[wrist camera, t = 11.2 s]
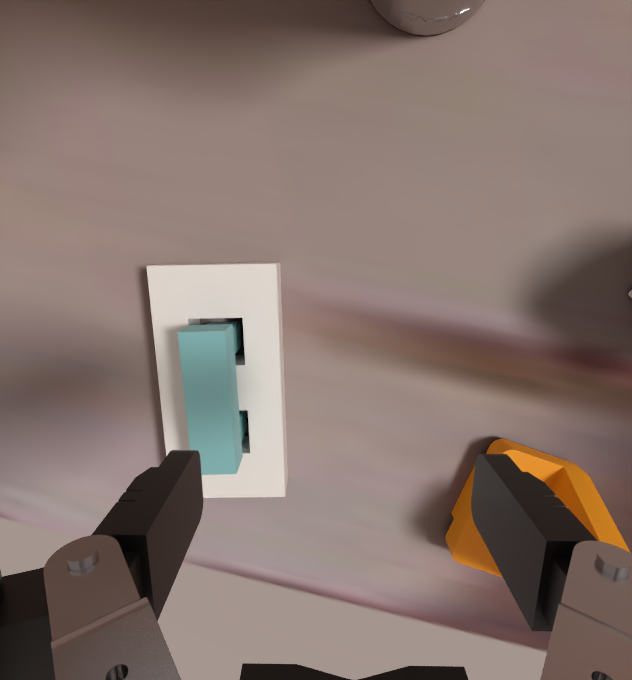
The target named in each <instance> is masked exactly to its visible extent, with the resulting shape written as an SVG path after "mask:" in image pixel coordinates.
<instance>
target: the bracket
mask: <svg viewBox="0 0 632 680" xmlns="http://www.w3.org/2000/svg"><path fill="white" fill-rule="evenodd" d="M486 454H507V455H508V456H509V457H510V458H511V459H512V460H513V461H514V463H515V464H516V465H517V466H518V467H519V468H520V470H521V471H522V472H529V473H530V474H532V475H533V476H535V477H537V478H538V479H540V480H541V481H543V482H545V483H546V484H547V486H548V487H549V488H550V489H551V490H552V491H553V492H554V493H555V494H556V497H557V498H559V499H560V500H561V501H562V502H563V503H564V504H565V505H566V508H568V509H569V510H570V511H571V512H572V513H573V514H574V515H575V516H576V517H577V518H578V520H579V521H580V522H581V523H582V524H583V525H584V526H585V527H586V528H587V529H588V531H589V532H590V533H591V534H592V535H593V536H594V537H595V538H596V539H597V540H598V541H600V542H605V543H609V544H612V545H615V546H617V547H620V548H622V549H624V550H626V551H628V552H630V551H629V549H628V547H627V546H626V544H625V542H624V540H623V538H622V536H621V534H620V533H619V531H618V529H617V527H616V525H615V523H614V521H613V520H612V518H611V516H610V514H609V512H608V510H607V508H606V506H605V505H604V503H603V501H602V499H601V497H600V495H599V493H598V492H597V490H596V488H595V486H594V484H593V482H592V480H591V479H590V477H589V475H588V474H586V473H585V472H584V471H583V470H582V469H581V468H579V467H578V466H577V465H576V464H575V463H572V462H569V461H566V460H563V459H560V458H557V457H555V456H552V455H549V454H546V453H543V452H540V451H537V450H535V449H532V448H529V447H526V446H523V445H520V444H517V443H515V442H512V441H509V440H506V439H498V440H496V441H494V442H493V443H491V445H490V446H489V448H488V450H487V452H486ZM474 470H475V465H474V467H473V469H472V471H471V473H470V475H469V477H468V479H467V481H466V483H465V485H464V488H463V490H462V492H461V494H460V496H459V498H458V500H457V502H456V504H455V506H454V508H453V510H452V512H451V514H452V516H453V518H454V519H453V521H452V523H451V525H450V527H449V530H448V532H447V534H446V537H445V539H446V542H447V545H448V547H449V549H450V552H451V554H452V556H453V558H454V560H455V561H457V562H458V563H461V564H464V565H467V566H470V567H474V568H477V569H480V570H483V571H486V572H489V573H492V574H495V575H498V576H501V577H503V576H502V574H501V572H500V571H499V569H498V567H497V565H496V563H495V561H494V559H493V558H492V556H491V554H490V552H489V550H488V548H487V546H486V544H485V543H484V541H483V539H482V537H481V535H480V533H479V531H478V530H477V528H476V526H475V523H474V521H473V517H472V511H471V498H472V489H473V479H474Z"/></svg>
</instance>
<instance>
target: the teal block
mask: <svg viewBox="0 0 632 680" xmlns="http://www.w3.org/2000/svg"><path fill="white" fill-rule="evenodd" d="M178 341H179V350H180V359H181V369H182V378H183V388H184V397H185V407H186V416H187V426H188V435H189V445H190V450H198V451H199V454H200V460H201V474H202V475H221V474H237V471H238V468H239V466H240V463H241V460H242V457H243V455H242V440H243V437H244V435H245V432H246V430H247V418H246V410H239V402H238V389H237V376H236V363H235V353H236V352H237V351H238V350H239V348H240V347H241V336H240V322H239V321H233V322H209V323H207V324H206V325H189V326H187V327H185V328H184V329H182V330H180V331H179V332H178Z"/></svg>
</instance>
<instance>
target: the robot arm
mask: <svg viewBox="0 0 632 680" xmlns="http://www.w3.org/2000/svg"><path fill="white" fill-rule="evenodd" d="M370 1H371V3H372V4H373V6H374V7H375V9H376V11H377V12H378V13H379V14H380V15H381V16H382V17H383V18H384V19H385V20H386V21H387V22H389V23H390V24H392V25H393V26H395V27H396V28H398V29H400V30H403V31H405V32H408V33H411V34H417V35H434V34H441V33H444V32H446V31H449V30H451V29H454V28H456V27H458V26H459V25H461V24H462V23H464V22H465V21H467V20H468V19H469V18H470V17H471V16H472V15H473V14H474V13H475V12H476V11H477V10H478V9H479V8H480V7H481V5H482V4H483V2H484V1H485V0H370ZM202 509H203V488H202V474H201V460H200V454H199V451H198V450H171V451H170V452H169V453H168V455H167V456H166V458H165V459H164V461H163V462H162V463H161V465H160V466H159V467H151V468H149V469H148V470H146V471H145V472H143V473H142V474H140V475H139V476H137V477H136V478H135V479H134V480H133V482H132V483H131V484H130V486H129V487H128V488H127V489H126V492H124V493H123V495H122V496H121V497H120V499H119V501H118V502H117V503H116V504H115V505H114V506H113V508H112V509H111V510H110V512H109V513H108V514H107V516H106V517H105V518H104V519H103V521H102V522H101V523H100V525H99V526H98V527H97V529H96V530H95V531H94V533H93V534H92V535H91V536H86V537H83V538H79V539H77V540H75V541H72V542H70V543H68V544H66V545H65V546H63V547H62V548H60V549H59V550H57V551H56V552H55V553H54V554H53V555H52V556H51V557H50V558H49V559H48V561H47V563H46V564H45V567H44V568H40V569H36V570H31V571H27V572H22V573H18V574H13V575H8V576H4V577H2V575H1V571H0V680H181V678H180V676H179V673H178V671H177V668H176V666H175V664H174V661H173V659H172V656H171V654H170V652H169V649H168V647H167V644H166V642H165V639H164V637H163V634H162V632H161V629H160V627H159V624H158V622H157V621H158V618H159V616H160V613H161V611H162V609H163V606H164V604H165V602H166V600H167V597H168V595H169V592H170V590H171V588H172V585H173V583H174V581H175V578H176V576H177V574H178V571H179V569H180V567H181V564H182V562H183V560H184V557H185V555H186V552H187V550H188V548H189V545H190V543H191V541H192V538H193V536H194V534H195V531H196V529H197V527H198V524H199V522H200V519H201V515H202ZM471 511H472V517H473V521H474V523H475V526H476V528H477V530H478V531H479V533H480V535H481V537H482V539H483V541H484V543H485V544H486V546H487V548H488V550H489V552H490V554H491V556H492V558H493V559H494V561H495V563H496V565H497V567H498V569H499V571H500V572H501V574H502V576H503V578H504V580H505V582H506V584H507V586H508V587H509V589H510V591H511V593H512V595H513V597H514V599H515V600H516V602H517V604H518V606H519V608H520V610H521V612H522V614H523V615H524V617H525V619H526V621H527V623H528V625H529V627H530V628H531V630H532V631H552V634H551V638H550V642H549V646H548V651H547V655H546V659H545V663H544V667H543V671H542V675H541V680H632V554H631V553H630V552H628V551H626V550H624V549H622V548H620V547H617V546H615V545H612V544H609V543H605V542H600V541H598V540H597V539H596V538H595V537H594V536H593V535H592V534H591V533H590V532H589V531H588V529H587V528H586V527H585V526H584V525H583V524H582V523H581V522H580V521H579V520H578V518H577V517H576V516H575V515H574V514H573V513H572V512H571V511H570V510H569V509H568V508H566V505H565V504H564V503H563V502H562V501H561V500H560V499H559V498H557V497H556V494H555V493H554V492H553V491H552V490H551V489H550V488H549V487H548V486H547V484H546V483H545V482H543V481H541V480H540V479H538V478H537V477H535V476H533V475H532V474H530V473H529V472H522V471H521V470H520V468H519V467H518V466H517V465H516V464H515V463H514V461H513V460H512V459H511V458H510V457H509V456H508V455H507V454H478V456H477V458H476V462H475V470H474V479H473V489H472V498H471ZM240 680H350V679H346V678H342V677H339V676H335V675H332V674H328V673H325V672H322V671H318V670H314V669H311V668H308V667H304V666H301V665H297V664H243V665H242V670H241V676H240ZM359 680H468V677H467V675H466V671H465V668H464V667H445V666H443V667H442V666H408V667H404V668H400V669H396V670H393V671H389V672H385V673H382V674H378V675H374V676H371V677H367V678H363V679H359Z"/></svg>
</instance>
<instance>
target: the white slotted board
mask: <svg viewBox="0 0 632 680" xmlns="http://www.w3.org/2000/svg"><path fill="white" fill-rule="evenodd" d="M147 276H148V285H149V295H150V304H151V314H152V324H153V333H154V343H155V352H156V362H157V371H158V381H159V390H160V400H161V410H162V419H163V429H164V438H165V448H166V456H167V455H168V453H169V452H170V451H171V450H190V445H189V435H188V426H187V416H186V407H185V397H184V388H183V378H182V369H181V359H180V350H179V341H178V332H179V331H180V330H182V329H184V328H185V327H187V326H189V325H201V324H200V318H243V335H244V353H245V355H235V363H236V376H237V389H238V402H239V410H248V423H249V436H244V437H243V440H242V455H243V457H242V460H241V463H240V466H239V468H238V471H237V474H221V475H202V488H203V498H226V497H285V494H286V487H287V479H288V465H287V437H286V409H285V382H284V354H283V326H282V298H281V270H280V262H258V263H203V264H160V265H150V266H147Z"/></svg>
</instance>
